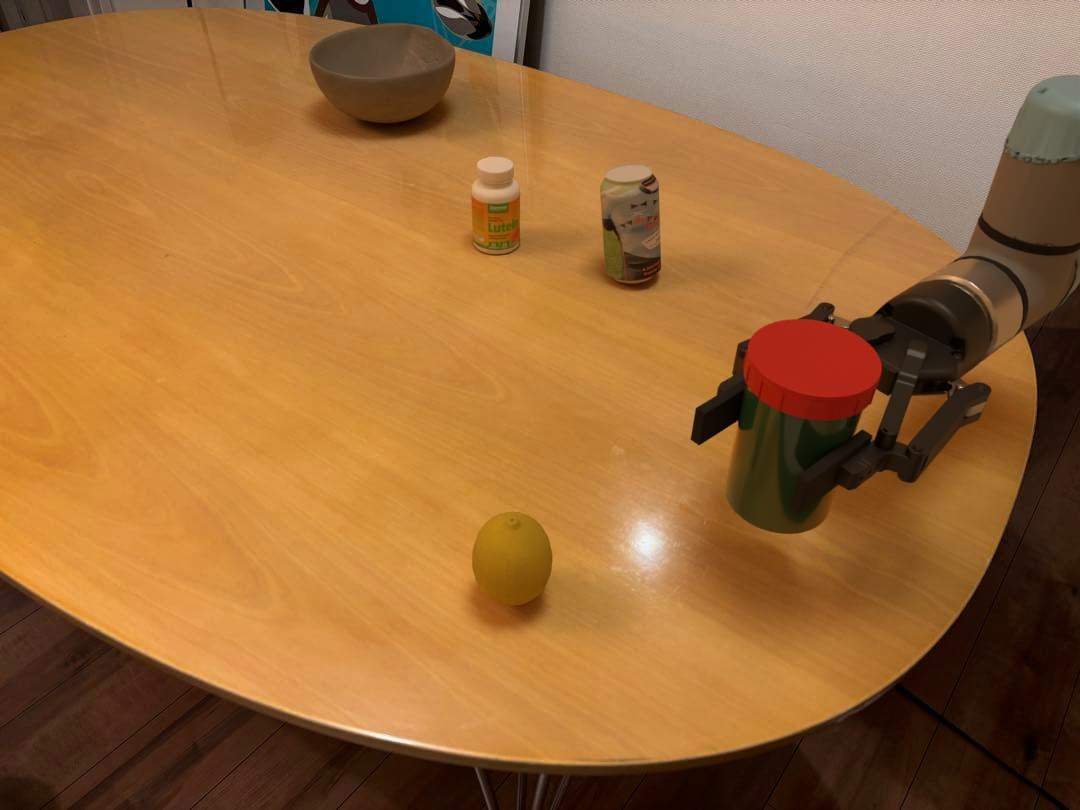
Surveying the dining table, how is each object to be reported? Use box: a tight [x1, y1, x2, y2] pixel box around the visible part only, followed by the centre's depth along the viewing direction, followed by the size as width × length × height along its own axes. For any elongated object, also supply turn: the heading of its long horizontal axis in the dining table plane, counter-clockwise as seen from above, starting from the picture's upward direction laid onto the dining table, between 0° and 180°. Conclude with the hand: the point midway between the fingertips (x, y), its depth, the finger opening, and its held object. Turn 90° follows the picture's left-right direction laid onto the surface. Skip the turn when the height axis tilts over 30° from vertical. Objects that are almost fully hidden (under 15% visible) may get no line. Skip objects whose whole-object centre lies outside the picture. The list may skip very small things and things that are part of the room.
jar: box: [724, 383, 863, 535], centre depth 57 cm, size 7×7×12 cm
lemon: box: [471, 511, 553, 606], centre depth 61 cm, size 6×6×8 cm
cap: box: [743, 318, 882, 420], centre depth 54 cm, size 8×8×2 cm
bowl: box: [308, 22, 457, 124], centre depth 126 cm, size 20×20×10 cm
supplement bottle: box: [470, 156, 521, 255], centre depth 98 cm, size 5×5×10 cm
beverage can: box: [599, 163, 662, 284], centre depth 93 cm, size 6×7×12 cm
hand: (746, 459), depth 54 cm, fingers closed on jar, 7 cm apart
